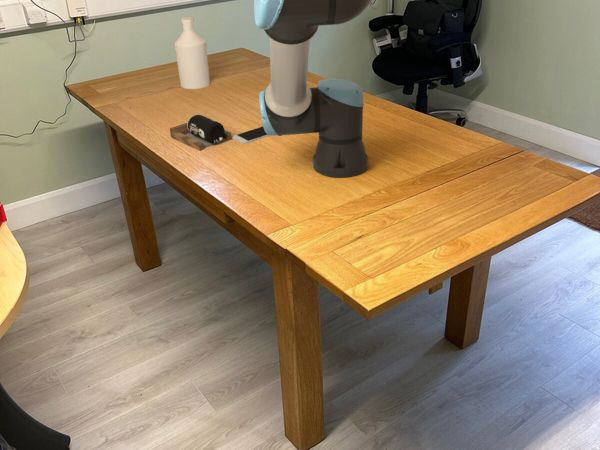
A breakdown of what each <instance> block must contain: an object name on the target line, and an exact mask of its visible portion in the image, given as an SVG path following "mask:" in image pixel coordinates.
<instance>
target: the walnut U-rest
mask: <svg viewBox="0 0 600 450" xmlns="http://www.w3.org/2000/svg"><path fill="white" fill-rule="evenodd" d="M169 133H170V139H172V140H173V139H174V140H175V141H178V142H180V143H182V144H185V145H187V146H189V147H191V148H193V149H195V150H197V151H203V150H205V148H204V144H203V143H202V142H200V141H198V140H195V139H193V138H191V137H189V136H186V134H189V133H191V132H190V131H189V130H188V128H187V122H185V123H182V124H179V125H176V126H173V127H169ZM232 136H233V135H232V132H230V131H228V130H225V133H224V137H223V138H225V140H227V141H230V140H233V139H232Z"/></svg>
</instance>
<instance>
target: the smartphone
mask: <svg viewBox="0 0 600 450" xmlns="http://www.w3.org/2000/svg"><path fill="white" fill-rule="evenodd" d="M270 136H271V135H268V134H266V132H265V130H264V127H263V125H262V126H259V127H256V128H253V129H250V130H246V131H243V132H241V133H238V134H235V135H232V139H231V140H234V141H236V142H238V143H240V144H242V145H245V144H249V143H252V142H254V141H258V140H261V139H263V138H267V137H270Z"/></svg>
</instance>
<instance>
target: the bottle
mask: <svg viewBox="0 0 600 450" xmlns="http://www.w3.org/2000/svg"><path fill="white" fill-rule="evenodd" d="M180 23H181V24H182V29H183V31H182V32H181V34H180V35H179V36H178V38H177V39H176V40H175V42H174V45H173V46H174V50H175V57H176V64H177V70H178V76H179V82H180V87H181V88H182V89H186V90H198V89H202V88H206V87H208V86H210V84H211V81H210V69H209V60H208V51H207V50H208V49H207V41H206V39H205V38H204V37H201V36H200V35H199V34H198V33H197V32H196V31H195V29H194V28H195V27H194V17H193V16H192V17H191V16H185V17H181V18H180Z"/></svg>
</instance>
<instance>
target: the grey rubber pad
mask: <svg viewBox="0 0 600 450" xmlns="http://www.w3.org/2000/svg"><path fill="white" fill-rule="evenodd" d="M186 136H189V137H191V138H193V139H195V140H198V141H200V142H202V143H203V144H204V149H205V148H207V147H209V146H212V145H214V144H212V143H210V142H207V141H205V140H203V139H201V138H199V137H197V136H195V135H193V134H191V133H189V134H186ZM225 140H226V139H225V138H223V139H222V140H221V141H220V142H219V143H221V142H223V141H225Z"/></svg>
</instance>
